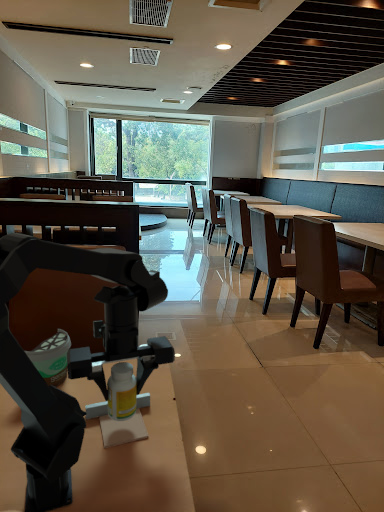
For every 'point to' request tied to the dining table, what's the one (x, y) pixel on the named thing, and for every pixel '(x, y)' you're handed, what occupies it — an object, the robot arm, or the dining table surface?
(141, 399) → the low wall
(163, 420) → the dining table surface
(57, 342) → the food container
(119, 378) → the supplement bottle
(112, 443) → the mat
